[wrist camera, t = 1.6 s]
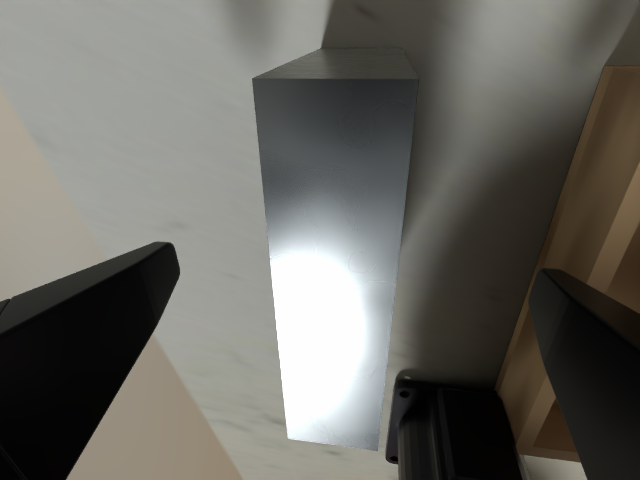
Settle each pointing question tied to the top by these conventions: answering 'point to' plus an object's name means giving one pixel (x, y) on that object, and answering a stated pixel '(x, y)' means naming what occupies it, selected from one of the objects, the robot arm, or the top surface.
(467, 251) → the top surface
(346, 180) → the panel
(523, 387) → the tray
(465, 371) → the top surface
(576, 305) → the robot arm
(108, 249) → the top surface
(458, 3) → the top surface
